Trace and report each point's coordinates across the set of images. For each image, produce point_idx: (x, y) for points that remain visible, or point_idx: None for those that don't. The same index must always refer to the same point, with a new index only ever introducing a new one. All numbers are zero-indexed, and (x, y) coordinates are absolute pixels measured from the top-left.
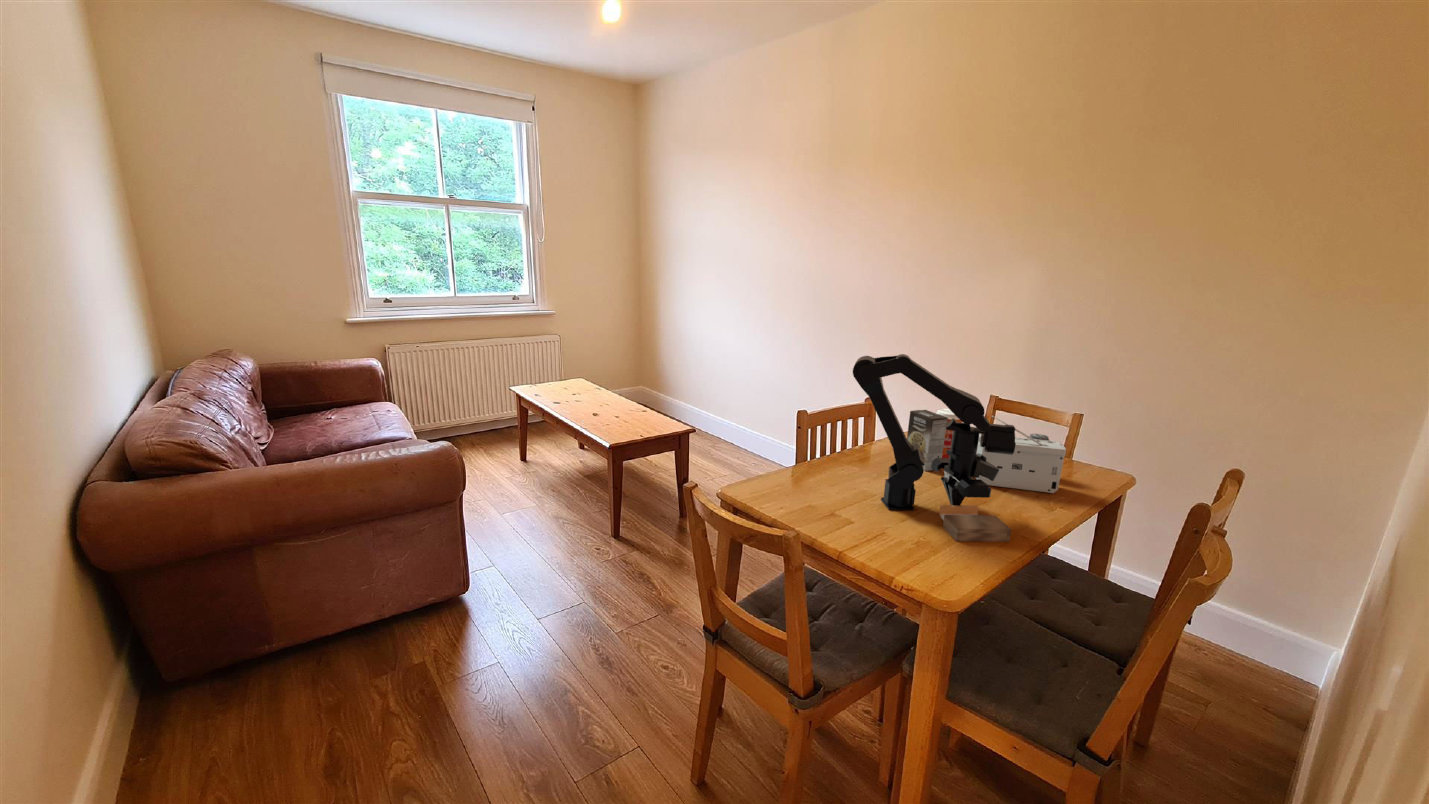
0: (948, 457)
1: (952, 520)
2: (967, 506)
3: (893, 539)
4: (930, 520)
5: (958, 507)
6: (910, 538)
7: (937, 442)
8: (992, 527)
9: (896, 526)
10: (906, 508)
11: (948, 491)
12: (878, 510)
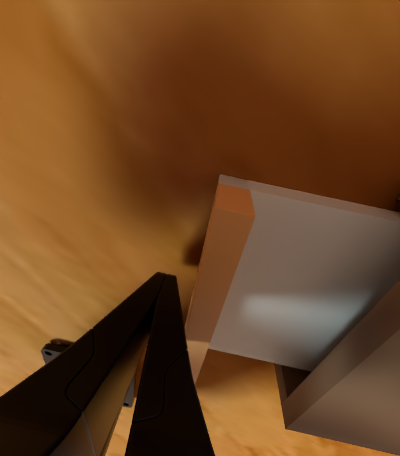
0: None
1: (348, 437)
2: (218, 288)
3: (284, 452)
4: (215, 363)
5: (212, 331)
6: (297, 436)
7: None
8: None
9: (228, 426)
10: (133, 384)
11: (106, 437)
12: (133, 410)
